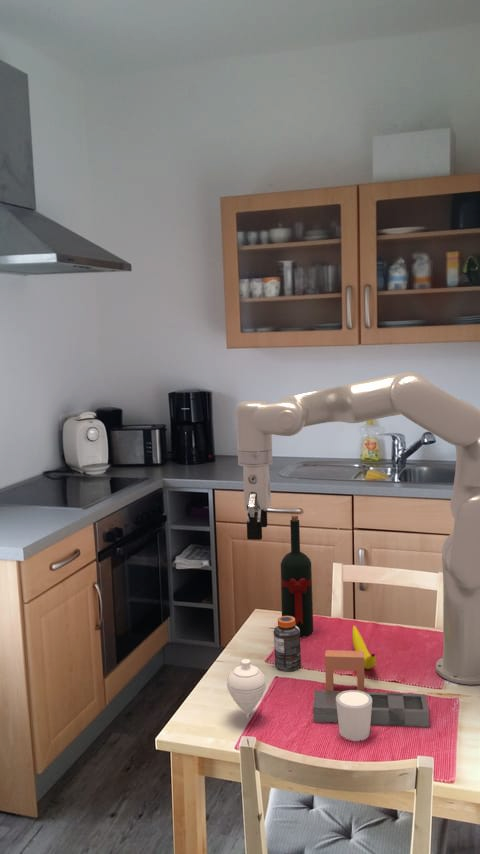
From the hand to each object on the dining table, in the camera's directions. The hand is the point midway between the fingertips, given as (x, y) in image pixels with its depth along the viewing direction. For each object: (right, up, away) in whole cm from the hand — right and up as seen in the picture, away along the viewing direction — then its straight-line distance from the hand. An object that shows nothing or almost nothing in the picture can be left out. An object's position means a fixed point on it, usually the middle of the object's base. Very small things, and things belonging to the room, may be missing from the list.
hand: (257, 532), depth 168 cm
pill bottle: (+7, -31, +4) cm, 32 cm away
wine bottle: (+11, -28, +21) cm, 37 cm away
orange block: (+18, -32, -8) cm, 38 cm away
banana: (+24, -30, +4) cm, 39 cm away
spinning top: (-2, -34, -18) cm, 39 cm away
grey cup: (+18, -35, -25) cm, 46 cm away
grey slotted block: (+22, -33, -19) cm, 44 cm away
